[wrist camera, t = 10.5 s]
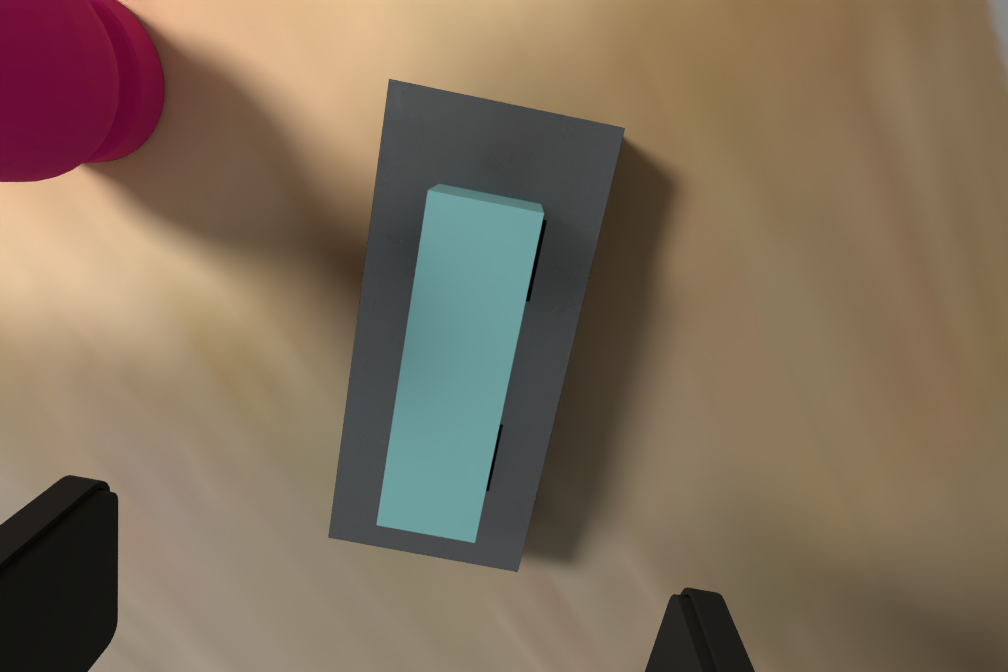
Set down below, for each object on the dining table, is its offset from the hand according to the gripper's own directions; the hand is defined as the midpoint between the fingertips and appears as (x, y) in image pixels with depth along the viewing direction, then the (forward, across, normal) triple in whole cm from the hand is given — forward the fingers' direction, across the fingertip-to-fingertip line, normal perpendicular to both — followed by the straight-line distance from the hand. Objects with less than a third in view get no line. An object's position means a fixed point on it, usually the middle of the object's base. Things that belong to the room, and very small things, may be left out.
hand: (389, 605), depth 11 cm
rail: (+17, 0, +1) cm, 17 cm away
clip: (+17, 0, +1) cm, 17 cm away
